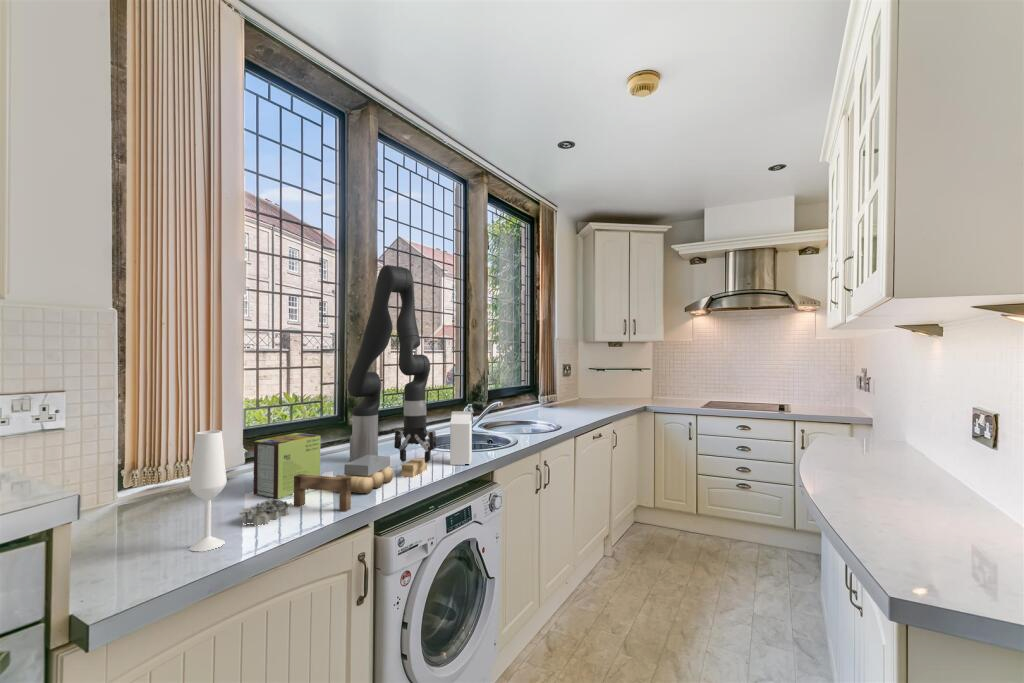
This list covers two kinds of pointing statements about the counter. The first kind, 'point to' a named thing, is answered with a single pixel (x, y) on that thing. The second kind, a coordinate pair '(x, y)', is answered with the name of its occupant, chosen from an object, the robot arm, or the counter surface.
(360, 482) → the roller bed
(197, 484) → the champagne flute
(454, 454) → the milk carton
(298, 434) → the protein box
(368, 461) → the slab
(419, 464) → the oak skid
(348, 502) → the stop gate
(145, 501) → the counter surface
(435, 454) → the counter surface
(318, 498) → the counter surface
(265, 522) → the egg carton
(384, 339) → the robot arm
